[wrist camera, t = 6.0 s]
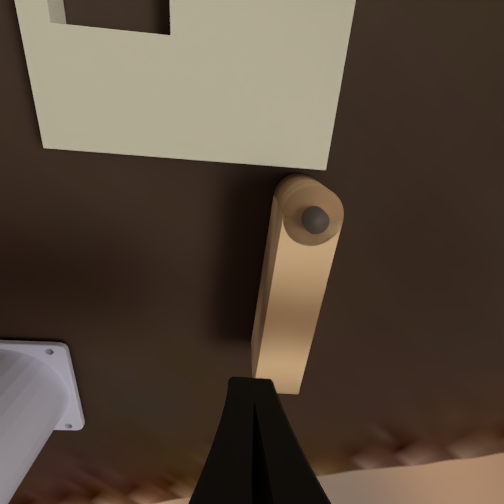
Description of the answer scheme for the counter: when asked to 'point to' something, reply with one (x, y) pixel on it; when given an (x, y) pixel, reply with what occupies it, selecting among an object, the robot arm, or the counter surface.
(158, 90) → the stool seat
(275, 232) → the hinged leg
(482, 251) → the counter surface
